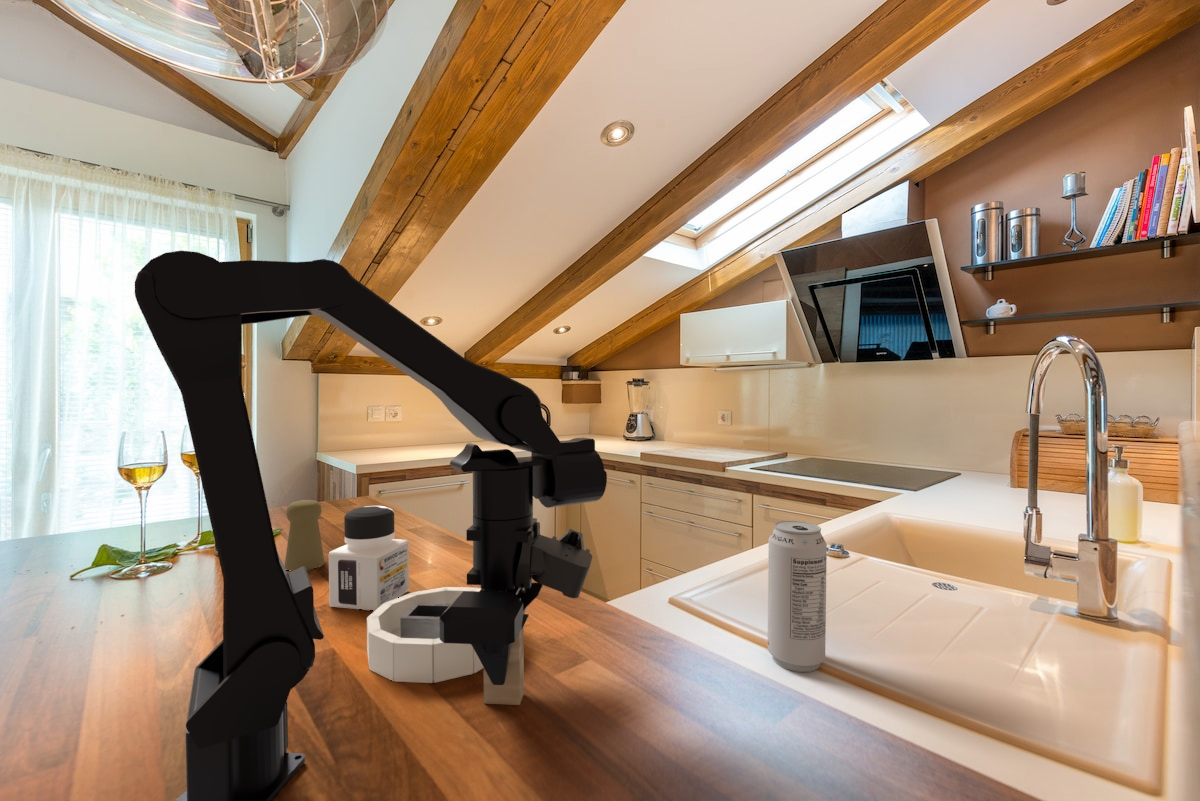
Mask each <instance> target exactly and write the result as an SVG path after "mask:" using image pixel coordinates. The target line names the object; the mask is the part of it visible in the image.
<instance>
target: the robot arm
mask: <svg viewBox="0 0 1200 801" xmlns="http://www.w3.org/2000/svg"><path fill="white" fill-rule="evenodd" d="M134 296H135V300H136V301H137V302H136V303H137V305H138V307H139V310H140V312H141V313H142V316H143V318H144V319H145V322H146V325H147V326H148V328H149V331H150V333H151V334H152V335H151V336H152V338H153V339H154V341H155V344H156V346H157V348H158V350H159V352H160V355H161V356H162V358H163V359H164V362H165V363H166V365H167V367H168V369H169V372H170V374H171V376H172V377H173V379H174V381H175V382H176V384H177V387H178V389H179V392H180V394H181V396H182V401H183V406H184V410H185V415H186V419H187V424H188V428H189V432H190V438H191V441H192V445H193V450H194V455H195V459H196V463H197V468H198V472H199V473H198V474H199V476H200V482H201V486H202V491H203V494H204V498H205V499H204V500H205V503H206V507H207V513H208V517H209V521H210V525H211V526H210V527H211V529H212V533H213V538H214V543H215V547H216V552H217V553H216V554H217V557H218V561H219V565H220V569H221V573H222V579H223V582H222V583H223V590H222V591H223V600H222V601H223V606H222V608H223V611H222V615H223V616H222V618H223V619H222V623H223V624H222V634H223V635H222V640H221V641H220V642H219V643H218V644H217V645H216V646H215V647H214V648H213V649H212V650H211V651H210V652H209V653H208V654H207V655H206V656H205V657H204V658H203V659H202V660H201V661H200V662H199V663H198V664H197V665H196V666H195V669H194V671H193V672H194V673H193V679H192V684H191V691H190V694H189V695H190V696H189V702H188V710H187V714H186V721H185V728H186V730H185V763H186V764H185V765H186V766H185V767H186V768H185V769H186V774H185V775H186V790H185V791H184V792H183V793H182V794H181V795H179V796H178V797H177V799H175V800H174V801H272V800H273V799H274V797H275V796H276V795H277V794H278V793H279V792H280V791H281V790H282V788H283V787H284V786H285V785H286V784H287V783H288V782H289V780H290V779H291V778H293V776H294V775H295V774H296V772H297V771H298V770H299V769H300V768H301V767H302V766H303V765H304V763H305V762H306V754H305V753H302V752H300V753H299V752H288V748H289V731H288V730H289V728H288V727H289V724H288V722H289V720H288V702H287V701H288V698H289V696H290V693H291V691H292V689H294V688H295V687H296V686H298V684H299V683H300V682H302V680H304V678H305V677H306V675H307V674H308V673H309V671H310V669H311V668H312V667H313V666H314V663H315V660H316V643H315V640H323V639H324V638H325V636H324V633H323V630H322V626H321V624H320V620H319V618H318V614H317V612H316V608H315V606H314V603H315V602H314V601H315V600H314V598H315V597H314V587H313V585H312V581H311V579H310V576H309V574H308V571H307V570H306V567H305V566H302V567H300V568H298V569H296V570H294V571H291V572H290V571H286V569H285V567H284V566H285V564H284V563H283V561H282V559H281V557H280V554H279V553H278V550H277V544H276V540H275V536H274V535H275V534H274V530H273V525H272V522H271V516H270V512H269V507H268V502H267V498H266V493H265V488H264V483H263V479H262V473H261V470H260V464H259V459H258V456H257V455H258V454H257V451H256V450H257V449H256V445H255V442H254V436H253V430H252V426H251V420H250V417H249V412H248V408H247V404H246V399H245V393H244V388H243V356H242V355H243V341H242V340H243V335H242V334H243V330H242V329H243V325H250V324H252V325H253V324H260V323H266V322H272V321H279V320H280V321H281V320H285V319H291V318H293V319H294V318H299V317H300V318H301V317H307V316H308V317H309V316H317V317H319V318H321V319H323V320H324V321H325V322H328V324H330V325H331V326H333V327H335V328H337V329H338V330H339V331H341V332H342V333H343V334H345V335H346V336H348V337H350V338H351V339H353V340H354V341H356V342H357V343H359V344H360V345H362V346H363V347H365V348H366V349H368V350H369V351H371V352H372V353H373V354H376V356H378V357H380V358H381V359H382V360H384V361H385V362H386V363H388V364H390V365H391V366H393V367H395V368H396V369H397V370H399V371H400V372H402V373H403V374H405V375H406V376H408V377H409V378H411V379H413V380H414V381H415V382H417V383H418V384H420V385H421V386H423V387H425V389H428V390H429V391H431V393H432V394H434V396H435V397H436V398H438V399H439V400H440V401H441V402H442V404H443V405H444V407H446V409H447V410H448V411H449V413H450V414H451V415H452V416H454V418H456V420H457V421H458V422H459V423H461V425H462V426H464V427H465V428H466V429H467V430H468V431H469V432H470V433H471V434H472V435H473V436H474V437H476V438H479V439H481V440H483V441H487V442H491V443H497V444H500V445H503V446H504V445H505V446H508V447H509V448H514V449H517V450H521V451H525V452H529V453H531V454H530V455H531V456H520V457H517V456H516V455H515V454H514V452H513V451H512V450H511V449H507V448H502V449H489V450H482V449H481V448H480V446H479V445H478V444H474V443H470V442H468V443H466V444H465V446H464V448H463V450H461V452H460V453H458V454H457V455H456V456H455V457H454V458H453V459H451V460H450V462H449V466H450V467H451V468H452V469H455V470H458V471H460V472H463V473H470V472H472V524H471V525H470V526H469V527H467V529H465V530H466V541H467V542H472V567H471V569H470V570H469V571H468V572H467V573H466V585H468V586H480V589H481V590H480V591H479V592H477V591H463V592H462V593H461V594H460V595H459V596H458V597H457V598H456V599H455V600H454V601H453V602H452V603H451V604H450V606H449V607H448V608H447V609H446V610H445V612H444V613H443V614H442V615H441V616H440V640H441V641H442V642H443V643H456V644H471V645H472V647H473V648H474V650H475V652H476V654H477V656H478V657H479V659H480V661H481V663H482V665H483V667H484V668H483V670H484V669H485V671H486V673H487V675H488V676H489V678H490V680H491V682H492V684H493V685H503V684H504V683H505V679H506V673H507V668H508V662H509V656H510V649H511V643H514V642H515V640H516V638H517V636H518V634H519V632H520V630H521V629H522V628H524V626H525V625H526V622H527V620H528V618H529V614H530V613H526V609H527V607H528V606H530V604H531V603H532V602H533V601H534V600H535V599H536V598H537V597H538V596H539V595H540V592H541V591H542V588H543V586H544V587H547V588H550V589H553V590H555V591H557V592H560V593H562V595H563V596H565V597H566V598H571V599H577V598H579V597H580V595H581V592H582V589H583V586H584V583H585V581H586V578H587V575H588V573H589V571H590V567H591V564H592V561H593V560H592V559H593V555H592V554H591V553H590V552H591V550H590V548H589V549H588V548H586V549H585V544H584V536H583V533H582V532H579V531H577V530H574V529H571V528H569V529H568V530H567V531H566V532H565V533H564V534H562V535H561V536H560V537H559V538H558V539H557V536H554V535H553V536H552V537H548V536H544V535H541V522H538V518H534V499H536V500H538V501H539V502H540V504H541V505H542V506H543V507H545V508H547V509H548V508H550V509H551V508H555V507H562V506H563V507H564V506H571V505H579V504H585V503H592V502H597V501H599V500H601V499H602V497H603V496H604V494H605V492H606V489H607V480H608V475H607V471H606V470H605V466H604V462H603V460H602V458H601V455H600V454H599V453H598V451H597V450H596V441H595V439H594V438H590V437H584V436H583V437H574V438H572V439H568V440H560V439H559V438H558V437H557V435H556V434H555V432H554V431H553V429H552V428H551V426H550V425H549V423H547V422H548V421H547V420H546V419H545V418H544V416H543V414H542V407H541V403H542V401H541V399H540V398H539V395H538V394H537V393H536V392H535V391H534V390H533V389H532V388H531V387H529V386H526V385H525V384H523V383H521V382H519V381H517V380H515V379H513V378H511V377H508V376H506V375H505V374H503V373H501V372H497V371H495V370H493V369H490V368H488V367H485V366H483V365H480V364H476V363H475V362H473V361H470V360H469V359H467V358H465V357H463V356H462V355H460V354H459V353H458V352H457V351H455V350H453V349H452V348H451V347H450V346H448V345H447V344H445V343H444V342H443V341H441V339H439V338H437V336H435V335H433V334H432V333H430V332H429V331H427V330H426V329H425V328H424V327H422V326H421V325H420V324H418V323H417V322H416V321H414V320H412V319H411V318H410V317H409V316H407V315H406V314H405V313H403V312H402V311H400V310H399V309H397V308H396V307H394V306H393V305H391V303H389V302H387V301H386V300H385V299H383V298H382V297H381V296H379V294H377V293H376V292H374V291H372V290H371V289H370V288H369V287H368V286H366V285H365V284H363V283H362V282H360V281H359V280H358V279H356V278H354V276H353V275H352V274H351V273H350V272H349V271H348V269H347V268H345V266H343V264H340V263H338V262H336V261H334V260H331V259H325V258H322V259H314V260H311V261H281V260H280V261H278V260H275V261H274V260H256V259H255V260H231V261H218V259H216V258H214V257H212V256H209V255H206V254H204V253H201V252H199V251H192V250H191V251H189V250H177V251H176V250H175V251H169V252H164V253H162V254H160V255H157V256H156V257H154V258H151V259H150V260H149V261H148V262H147V263H146V264H145V265H144V266H143V267H142V268H141V269H140V270H139V271H138V272H137V274H136V278H135V281H134ZM532 581H534V582H532Z"/></svg>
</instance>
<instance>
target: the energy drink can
mask: <svg viewBox="0 0 1200 801" xmlns="http://www.w3.org/2000/svg"><path fill="white" fill-rule="evenodd" d="M821 531H822V528H821V526H819V525H817V524H815V523H812V522H806V521H800V520H783V521H777V522H775V523H774V529H773V530H772V533H771V534H770V536H769V537H768V554H767V555H768V558H767V559H768V560H767V561H768V564H767V565H768V566H767V567H768V568H767V569H768V572H767V577H768V578H767V651H768V653H769V654H770V655H771V656H772V657H771V658H772V660H773V661H774V663H775V664H776V665H778V666H780V667H781V668H783V669H786V670H790V671H792V672H796V673H797V672H799V673H809V672H815V671H816V670H817V669H818V668H820V666H821V664H822V662H824V661H825V659H826V636H827V635H826V631H827V630H826V624H827V622H826V621H827V612H826V611H827V559H828V558H827V549H828V548H827V545H828V544H827V542H826V540H825V538H824V536H823V534H822V533H821Z"/></svg>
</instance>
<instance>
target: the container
mask: <svg viewBox="0 0 1200 801" xmlns="http://www.w3.org/2000/svg"><path fill="white" fill-rule="evenodd" d="M343 518H344V519H343V520H344V521H343V522H344V523H343V524H344V528H343V529H344V543H345V544H344V545H342V546H339V547H337V548H334V549H333V550H330V551H329V553H328V591H329V592H328V597H329V598H328V599H329V603H328V604H329V607H331V608H340V609H350V610H351V609H352V610H359V609H362V610H363V611H370V610H373V611H372V612H374V611H375V610H376V609H377V608H379V607H380V606H381V605H382V604H383V603H385V602H388V601H391V600H393V599H396V598H398V597H401V596H404V595H405V594H406V593H407V592H409V590H410V568H409V565H410V564H409V559H410V556H409V554H410V552H409V551H410V550H409V547H410V546H409V540H408V539H400V538H395V511H394V510H393V509H392V508H390V507H387V506H383V505H369V506H368V505H367V506H360V507H359V506H358V507H355V508H353V509H351V510H349V511H347V512H346V514H344V517H343ZM362 610H361V611H362Z"/></svg>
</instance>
